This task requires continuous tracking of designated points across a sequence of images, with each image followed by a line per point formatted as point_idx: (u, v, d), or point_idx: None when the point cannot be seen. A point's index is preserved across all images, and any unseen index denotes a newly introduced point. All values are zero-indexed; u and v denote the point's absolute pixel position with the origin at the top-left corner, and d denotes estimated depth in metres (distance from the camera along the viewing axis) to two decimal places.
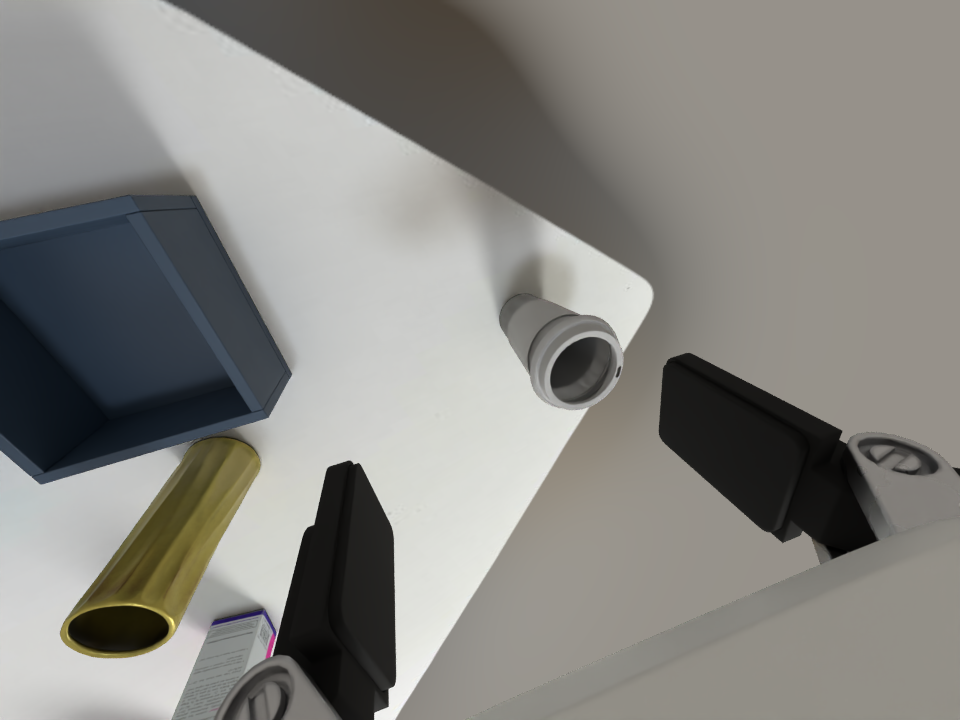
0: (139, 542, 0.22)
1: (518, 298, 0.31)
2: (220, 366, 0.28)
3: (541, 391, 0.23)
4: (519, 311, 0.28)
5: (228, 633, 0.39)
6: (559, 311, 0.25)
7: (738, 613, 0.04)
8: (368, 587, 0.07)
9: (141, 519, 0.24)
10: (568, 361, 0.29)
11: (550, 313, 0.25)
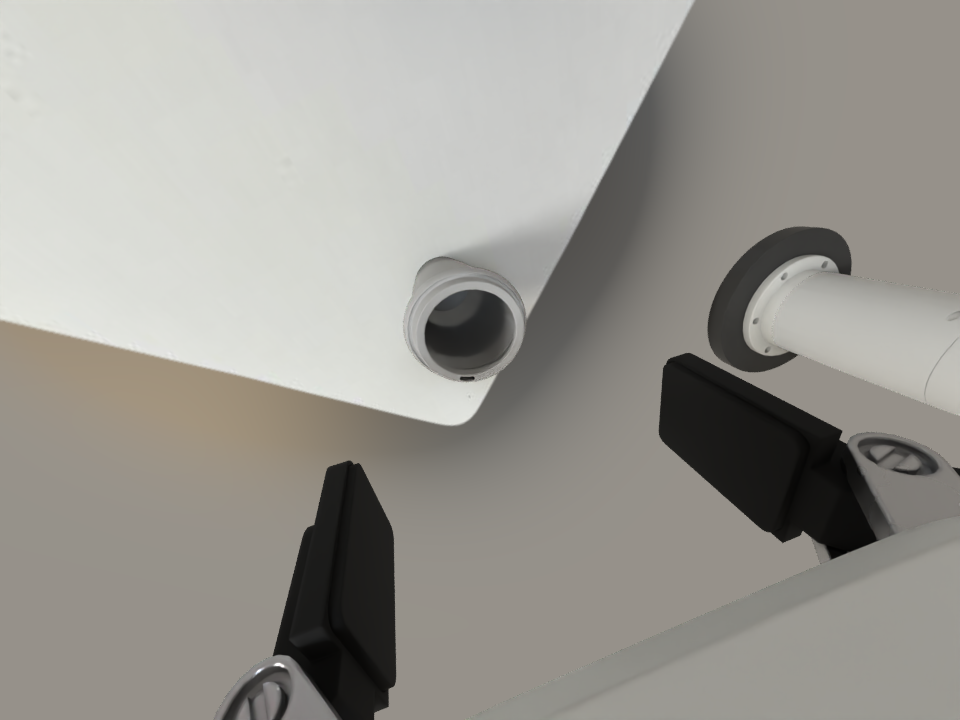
0: None
1: None
2: None
3: (437, 284, 0.17)
4: None
5: None
6: None
7: (738, 613, 0.04)
8: (368, 586, 0.07)
9: None
10: (428, 334, 0.23)
11: None
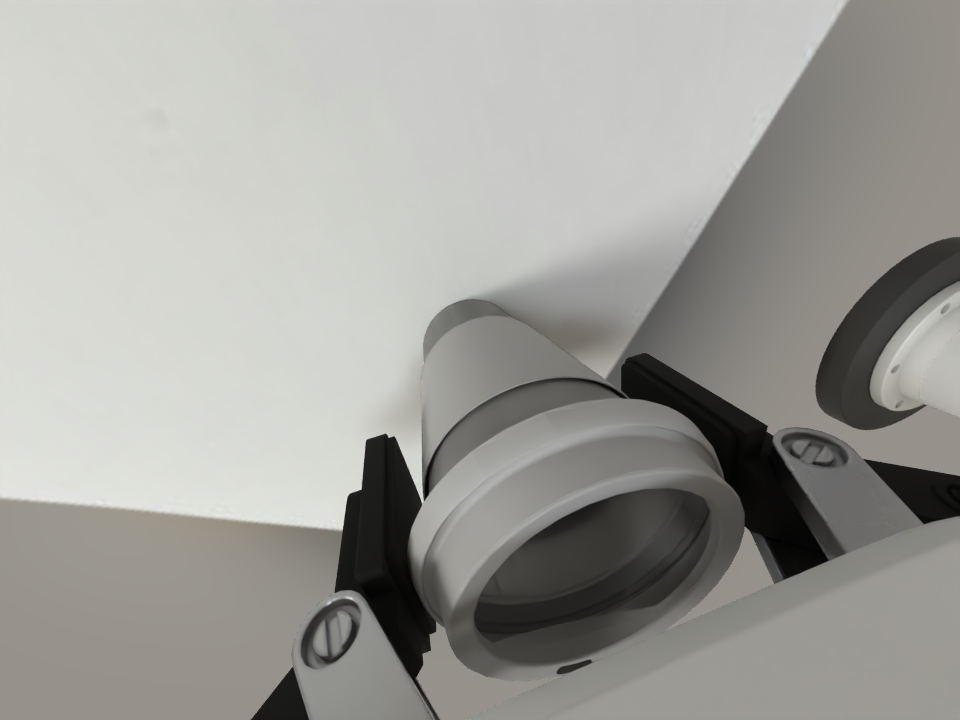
0: None
1: None
2: None
3: (515, 466, 0.06)
4: None
5: None
6: None
7: (738, 613, 0.04)
8: None
9: None
10: None
11: None
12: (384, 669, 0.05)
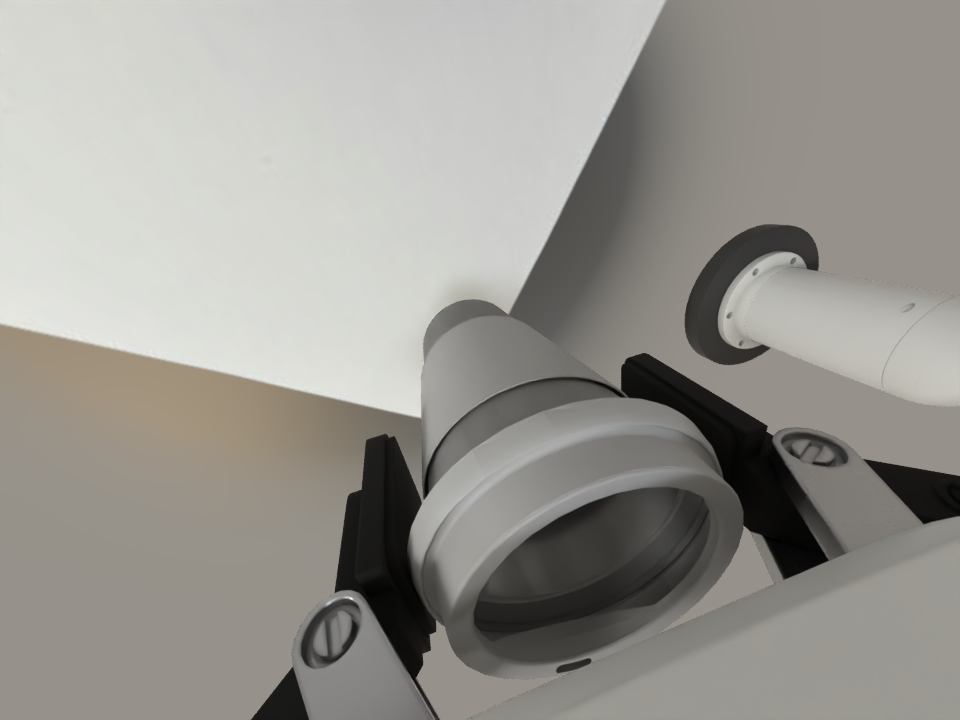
0: None
1: None
2: None
3: (515, 465, 0.06)
4: None
5: None
6: None
7: (738, 613, 0.04)
8: None
9: None
10: None
11: None
12: (384, 669, 0.05)
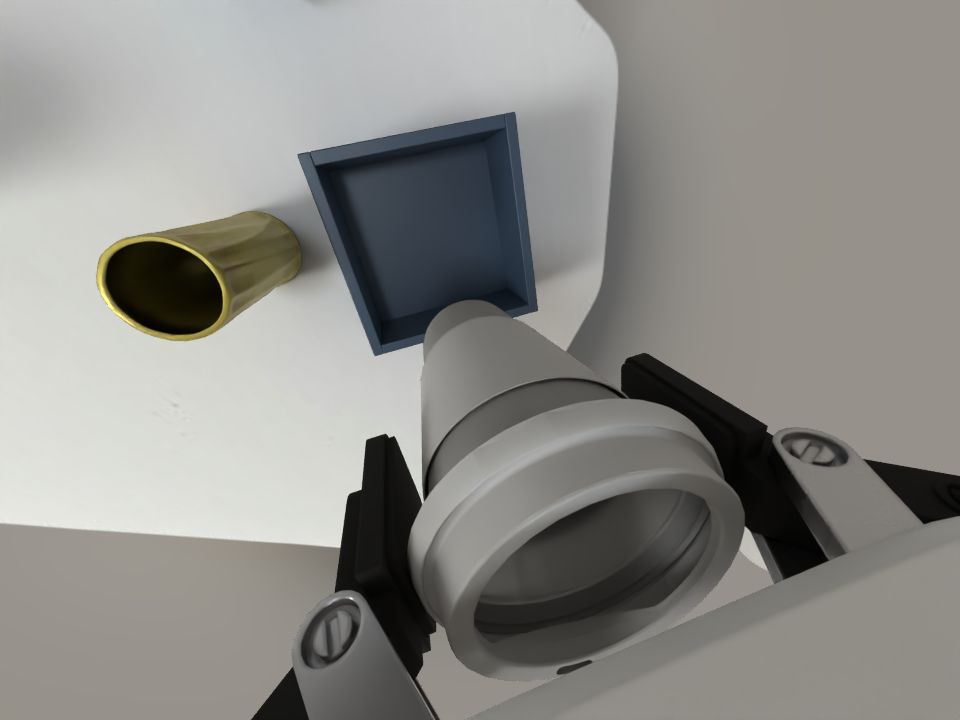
0: (252, 269, 0.20)
1: None
2: (389, 281, 0.32)
3: (515, 467, 0.06)
4: None
5: None
6: None
7: (738, 613, 0.04)
8: None
9: (253, 241, 0.22)
10: None
11: None
12: (384, 669, 0.05)
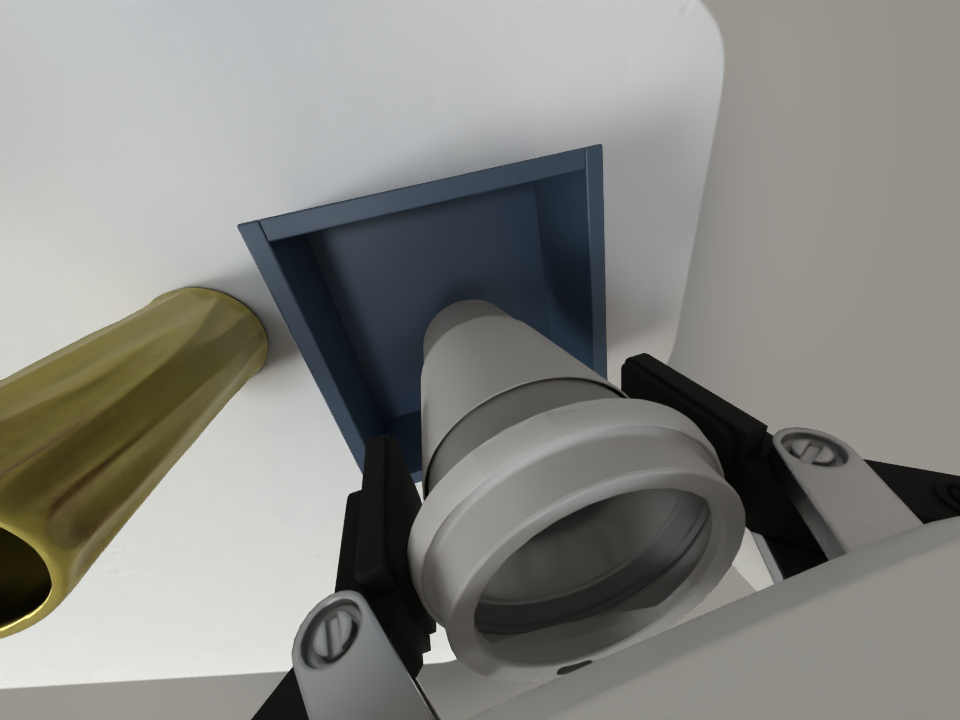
0: (151, 439, 0.11)
1: None
2: (394, 370, 0.23)
3: (516, 466, 0.06)
4: None
5: None
6: None
7: (738, 613, 0.04)
8: None
9: (163, 371, 0.13)
10: None
11: None
12: (384, 669, 0.05)
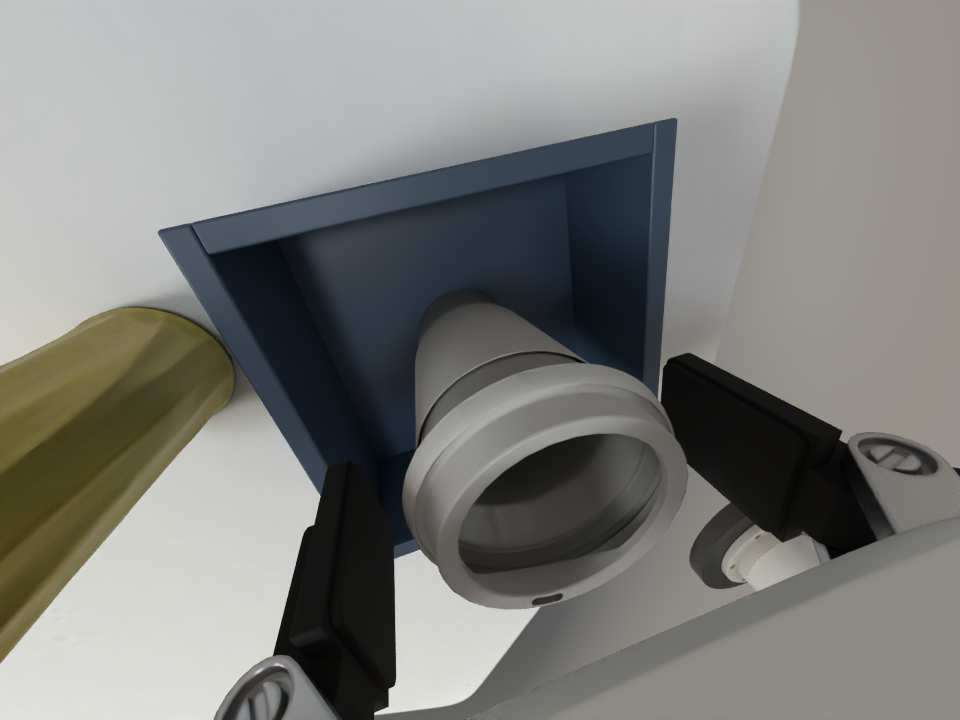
0: (17, 563, 0.07)
1: None
2: (391, 402, 0.19)
3: (492, 417, 0.07)
4: None
5: None
6: None
7: (738, 613, 0.04)
8: (367, 587, 0.07)
9: (55, 443, 0.09)
10: None
11: None
12: None
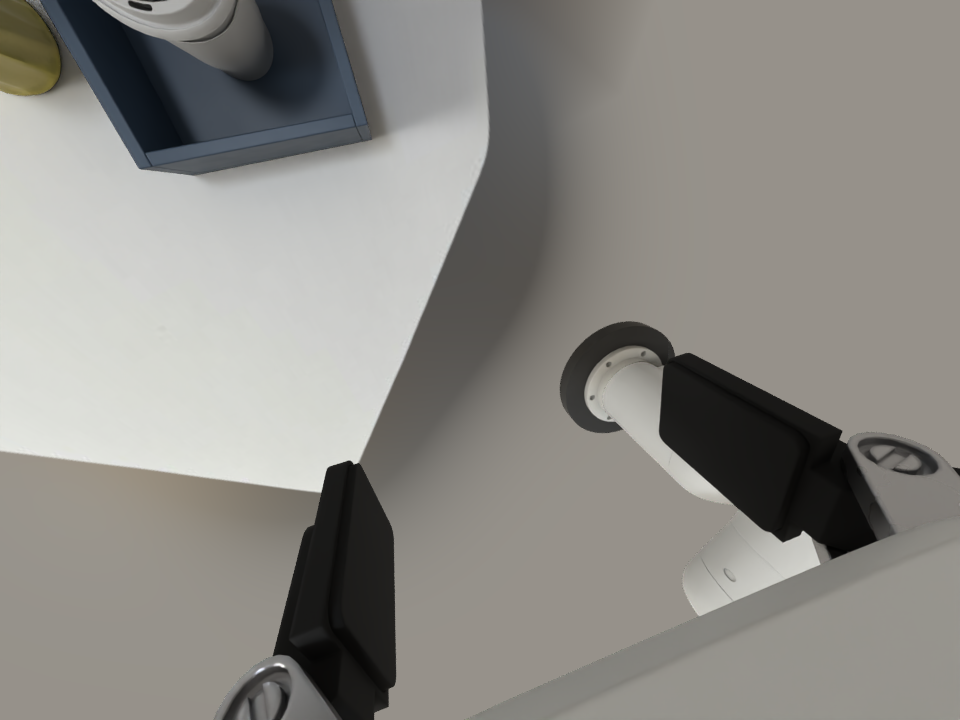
0: None
1: (262, 20, 0.23)
2: (191, 101, 0.25)
3: None
4: None
5: None
6: None
7: (738, 613, 0.04)
8: (368, 586, 0.07)
9: None
10: None
11: None
12: None
